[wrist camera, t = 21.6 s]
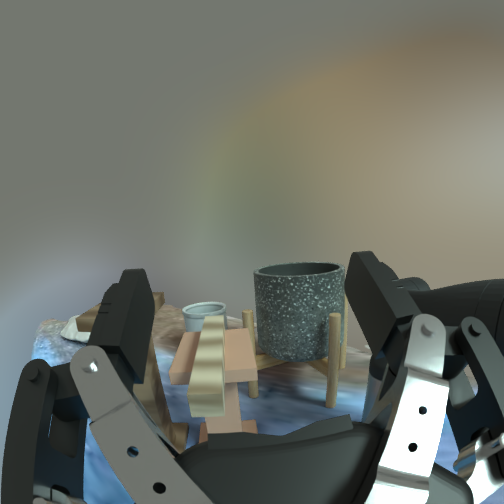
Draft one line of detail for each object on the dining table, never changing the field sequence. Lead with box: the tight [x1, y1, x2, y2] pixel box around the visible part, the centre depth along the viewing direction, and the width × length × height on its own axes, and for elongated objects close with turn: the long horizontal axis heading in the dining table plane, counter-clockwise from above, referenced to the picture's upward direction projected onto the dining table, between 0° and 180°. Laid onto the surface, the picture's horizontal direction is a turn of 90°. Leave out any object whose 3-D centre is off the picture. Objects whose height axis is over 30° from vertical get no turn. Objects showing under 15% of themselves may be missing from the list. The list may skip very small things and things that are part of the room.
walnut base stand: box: [75, 292, 189, 453], centre depth 42 cm, size 16×10×32 cm, turn 5°
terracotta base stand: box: [169, 328, 258, 443], centre depth 43 cm, size 16×12×24 cm
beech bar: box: [187, 315, 225, 417], centre depth 37 cm, size 26×3×3 cm, turn 5°
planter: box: [242, 262, 348, 408], centre depth 69 cm, size 22×22×32 cm
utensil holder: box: [182, 302, 228, 332], centre depth 91 cm, size 15×15×18 cm
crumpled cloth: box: [61, 315, 91, 343], centre depth 105 cm, size 24×35×9 cm
